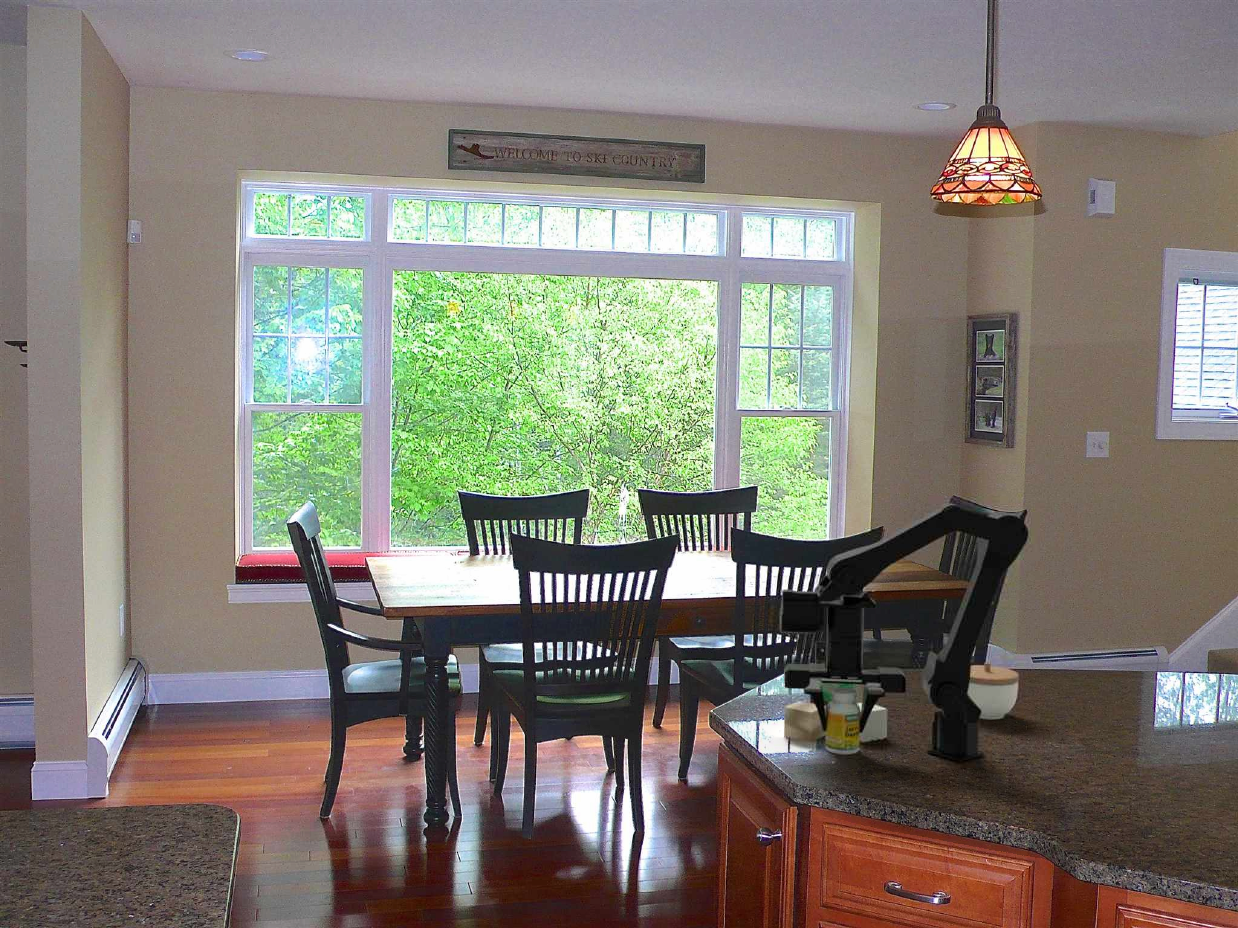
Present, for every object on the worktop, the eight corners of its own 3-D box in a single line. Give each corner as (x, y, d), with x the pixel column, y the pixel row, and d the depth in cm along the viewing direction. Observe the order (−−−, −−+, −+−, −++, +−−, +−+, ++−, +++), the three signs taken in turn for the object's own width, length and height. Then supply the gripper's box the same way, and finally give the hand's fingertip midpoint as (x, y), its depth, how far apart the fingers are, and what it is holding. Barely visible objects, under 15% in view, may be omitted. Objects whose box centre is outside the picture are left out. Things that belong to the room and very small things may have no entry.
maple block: (825, 735, 194) (826, 706, 194) (811, 742, 190) (811, 712, 190) (798, 730, 197) (799, 700, 197) (784, 736, 193) (784, 707, 193)
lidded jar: (1031, 719, 205) (1032, 667, 204) (981, 725, 201) (982, 671, 200) (990, 704, 215) (992, 654, 214) (942, 709, 211) (943, 658, 210)
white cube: (886, 738, 193) (887, 708, 192) (862, 742, 190) (863, 712, 190) (866, 730, 197) (867, 701, 197) (843, 734, 195) (844, 705, 194)
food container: (838, 726, 199) (840, 668, 199) (806, 719, 203) (807, 663, 202) (870, 711, 209) (871, 656, 209) (838, 705, 213) (840, 651, 212)
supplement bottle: (838, 742, 190) (839, 684, 189) (866, 750, 186) (867, 690, 185) (818, 749, 186) (819, 690, 185) (846, 757, 182) (847, 696, 181)
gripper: (899, 626, 192) (896, 720, 193) (784, 622, 194) (782, 715, 195) (907, 640, 181) (904, 739, 181) (785, 636, 183) (783, 734, 184)
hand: (842, 731), depth 186 cm, fingers closed on supplement bottle, 5 cm apart
